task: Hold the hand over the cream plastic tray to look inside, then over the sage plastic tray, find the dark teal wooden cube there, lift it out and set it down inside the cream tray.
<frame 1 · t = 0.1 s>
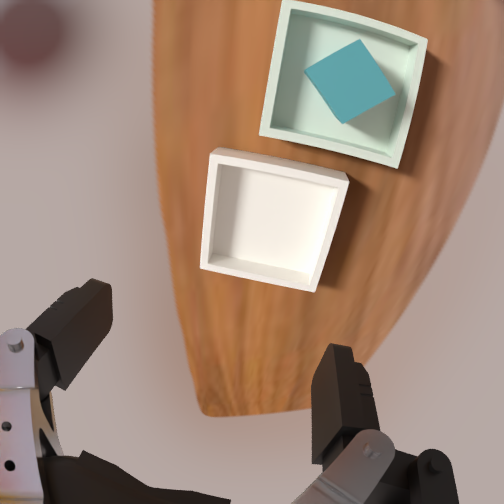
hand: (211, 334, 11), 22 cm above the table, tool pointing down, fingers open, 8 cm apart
cream tray: (270, 215, 32), on the table
teal cube: (342, 81, 24), point 1 cm above the table, touching sage tray
sage tray: (341, 81, 24), on the table
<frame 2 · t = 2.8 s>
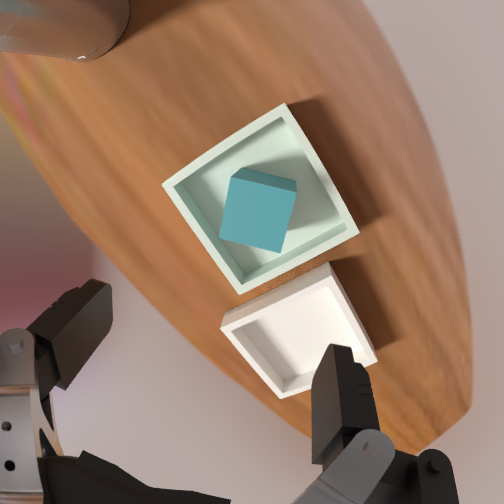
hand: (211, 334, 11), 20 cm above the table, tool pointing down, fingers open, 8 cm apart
cream tray: (302, 330, 34), on the table
teal cube: (262, 200, 28), point 1 cm above the table, touching sage tray
sage tray: (263, 198, 29), on the table
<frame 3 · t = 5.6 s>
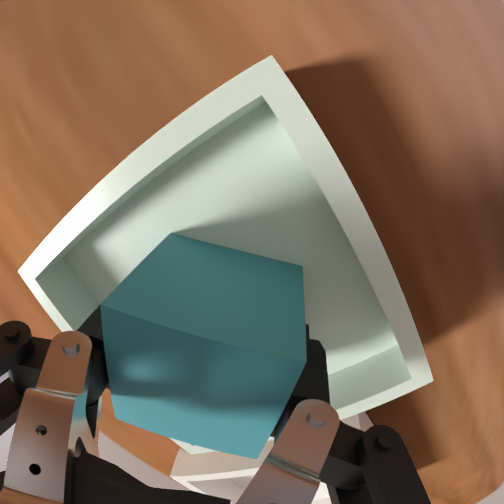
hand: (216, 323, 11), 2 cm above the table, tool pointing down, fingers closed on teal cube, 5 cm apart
cream tray: (302, 467, 18), on the table
teal cube: (223, 305, 12), point 1 cm above the table, touching gripper, sage tray
sage tray: (227, 295, 13), on the table
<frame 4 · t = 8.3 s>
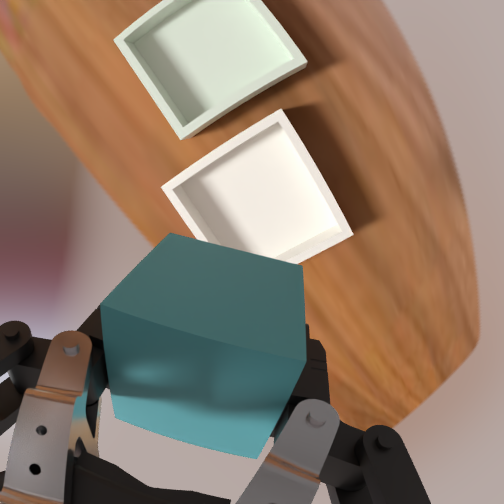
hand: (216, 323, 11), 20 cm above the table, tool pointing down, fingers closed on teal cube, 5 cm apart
cream tray: (259, 200, 30), on the table
teal cube: (223, 305, 12), point 19 cm above the table, touching gripper
sage tray: (210, 49, 24), on the table
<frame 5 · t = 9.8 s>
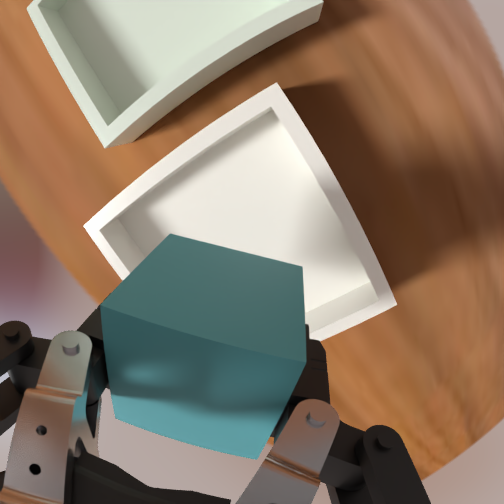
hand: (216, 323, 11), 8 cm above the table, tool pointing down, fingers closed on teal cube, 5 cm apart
cream tray: (243, 243, 18), on the table
teal cube: (223, 305, 12), point 7 cm above the table, touching gripper
sage tray: (162, 3, 13), on the table
when the fingers open (4 cm above the table, at t = 10.9 s): teal cube drops 2 cm, resting on cream tray.
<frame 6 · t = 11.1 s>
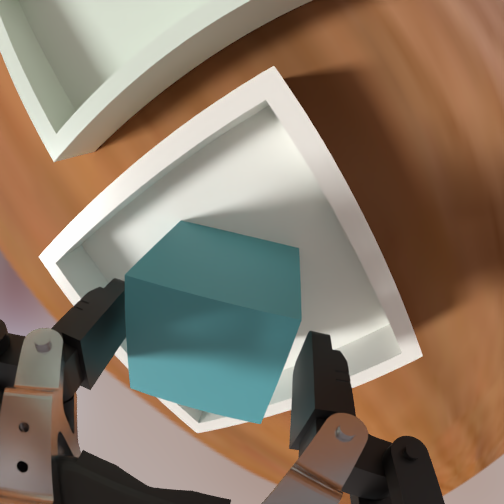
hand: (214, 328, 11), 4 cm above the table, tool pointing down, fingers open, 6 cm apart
cream tray: (233, 277, 14), on the table
teal cube: (228, 285, 14), point 1 cm above the table, touching cream tray
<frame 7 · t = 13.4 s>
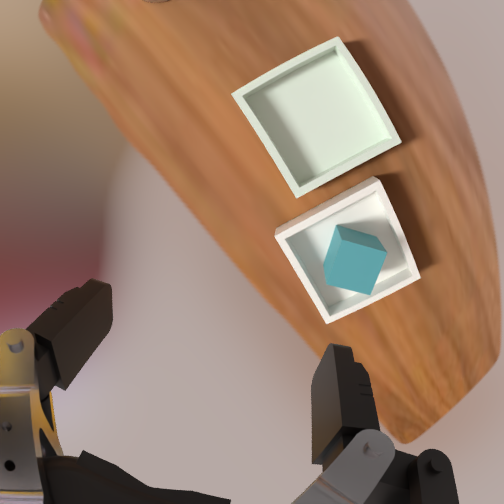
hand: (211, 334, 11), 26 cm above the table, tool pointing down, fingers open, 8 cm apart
cream tray: (349, 248, 35), on the table
teal cube: (349, 250, 35), point 1 cm above the table, touching cream tray
sage tray: (317, 116, 31), on the table
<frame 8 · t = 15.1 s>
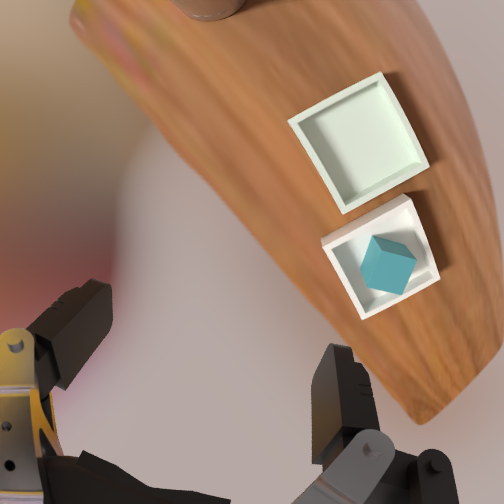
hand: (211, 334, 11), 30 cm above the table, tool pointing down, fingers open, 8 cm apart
cream tray: (381, 254, 40), on the table
teal cube: (382, 256, 39), point 1 cm above the table, touching cream tray
sage tray: (358, 141, 35), on the table
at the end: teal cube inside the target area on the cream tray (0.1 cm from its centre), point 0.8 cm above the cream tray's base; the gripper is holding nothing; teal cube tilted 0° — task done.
